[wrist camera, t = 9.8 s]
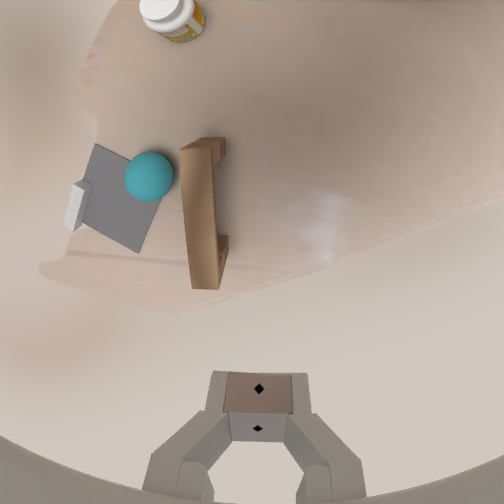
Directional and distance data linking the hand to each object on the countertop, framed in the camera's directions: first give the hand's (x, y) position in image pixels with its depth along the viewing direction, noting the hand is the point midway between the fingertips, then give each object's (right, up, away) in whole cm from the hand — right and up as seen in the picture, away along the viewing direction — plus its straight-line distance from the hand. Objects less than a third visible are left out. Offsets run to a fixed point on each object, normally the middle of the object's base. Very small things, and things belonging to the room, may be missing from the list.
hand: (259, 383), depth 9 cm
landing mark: (-19, +11, +30) cm, 37 cm away
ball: (-13, +13, +25) cm, 31 cm away
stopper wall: (-25, +11, +30) cm, 41 cm away
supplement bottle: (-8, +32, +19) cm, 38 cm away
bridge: (-5, +11, +29) cm, 32 cm away
